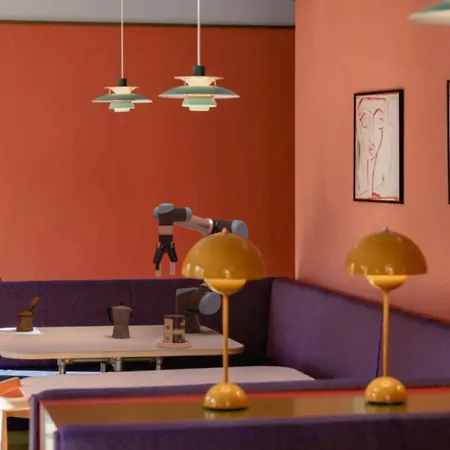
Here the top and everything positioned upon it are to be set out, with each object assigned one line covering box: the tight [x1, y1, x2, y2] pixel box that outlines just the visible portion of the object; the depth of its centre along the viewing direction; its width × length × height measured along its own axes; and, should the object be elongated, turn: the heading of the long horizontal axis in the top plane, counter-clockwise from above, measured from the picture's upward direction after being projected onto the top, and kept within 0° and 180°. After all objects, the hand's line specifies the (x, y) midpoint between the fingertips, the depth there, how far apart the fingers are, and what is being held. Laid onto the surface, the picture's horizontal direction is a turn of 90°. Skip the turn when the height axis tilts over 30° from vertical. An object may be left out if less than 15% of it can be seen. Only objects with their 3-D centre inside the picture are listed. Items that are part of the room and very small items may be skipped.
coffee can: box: [163, 314, 186, 343], centre depth 581 cm, size 10×10×14 cm
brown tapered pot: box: [15, 295, 40, 333], centre depth 634 cm, size 9×14×18 cm, turn 134°
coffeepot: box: [106, 301, 133, 340], centre depth 611 cm, size 15×9×18 cm, turn 61°
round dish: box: [157, 339, 192, 350], centre depth 581 cm, size 16×16×2 cm
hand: (165, 275), depth 608 cm, fingers open, 13 cm apart
